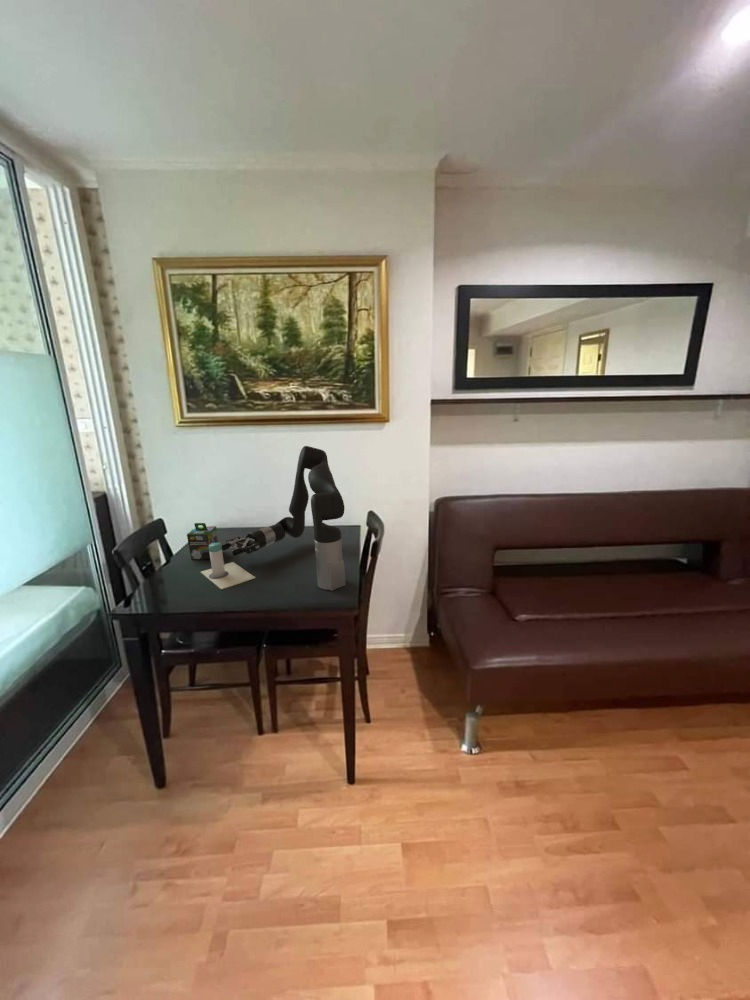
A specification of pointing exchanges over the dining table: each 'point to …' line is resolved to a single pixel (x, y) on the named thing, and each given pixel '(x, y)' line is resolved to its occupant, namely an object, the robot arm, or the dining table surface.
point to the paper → (229, 576)
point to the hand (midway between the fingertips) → (226, 550)
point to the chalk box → (201, 540)
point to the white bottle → (217, 559)
